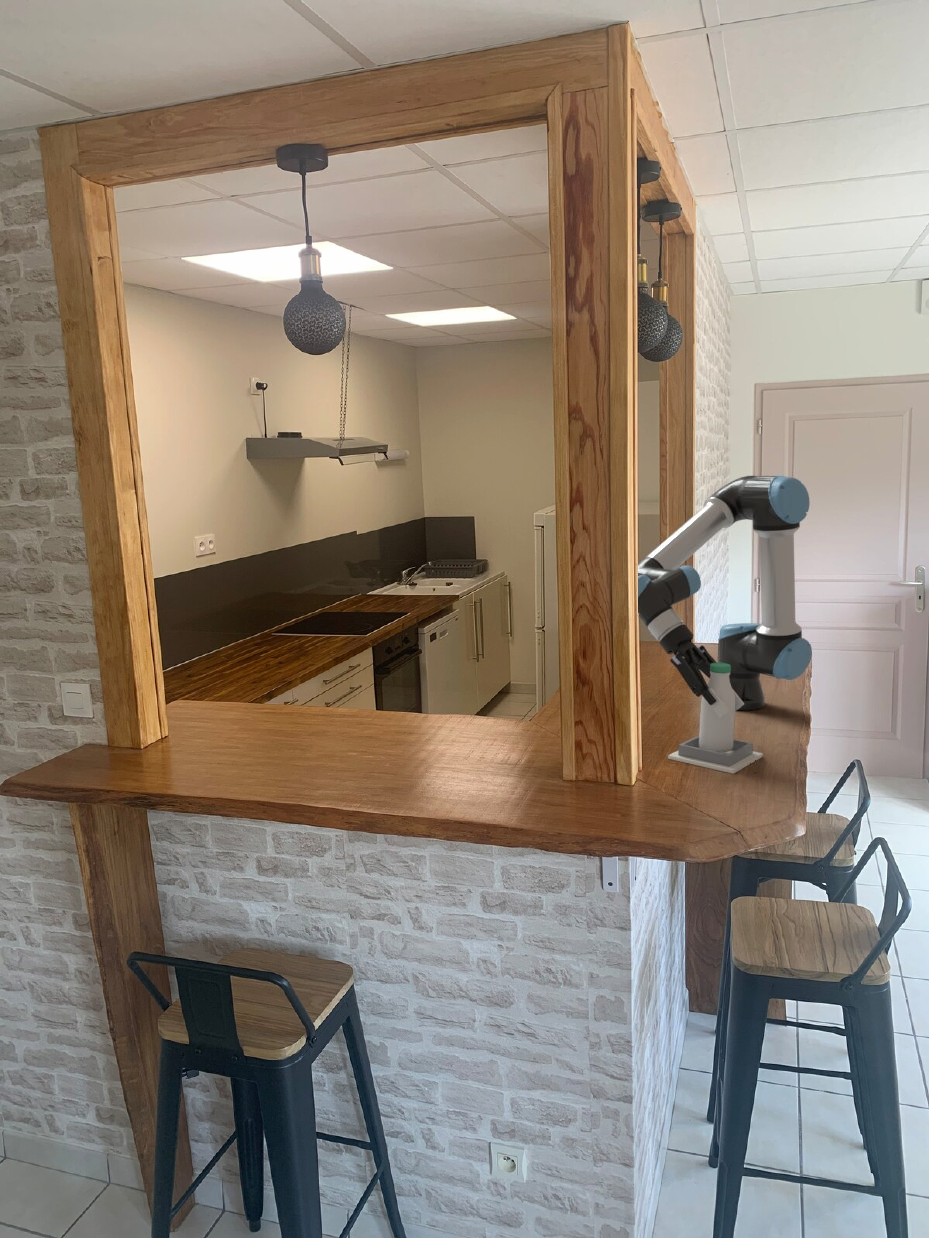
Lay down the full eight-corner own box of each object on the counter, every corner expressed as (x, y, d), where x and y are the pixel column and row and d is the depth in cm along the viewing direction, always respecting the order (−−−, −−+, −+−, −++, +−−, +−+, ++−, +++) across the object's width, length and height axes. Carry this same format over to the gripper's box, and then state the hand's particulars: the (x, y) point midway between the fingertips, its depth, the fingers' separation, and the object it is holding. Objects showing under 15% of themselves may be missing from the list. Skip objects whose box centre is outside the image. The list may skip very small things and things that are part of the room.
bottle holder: (699, 743, 228) (699, 730, 227) (762, 756, 217) (763, 743, 217) (667, 758, 215) (668, 744, 215) (733, 773, 205) (734, 759, 205)
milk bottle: (734, 754, 212) (739, 668, 208) (699, 752, 213) (703, 667, 210) (731, 744, 219) (736, 661, 216) (697, 742, 221) (702, 659, 217)
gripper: (680, 636, 230) (739, 711, 222) (639, 648, 214) (700, 729, 207) (701, 617, 225) (762, 693, 218) (661, 628, 210) (724, 710, 203)
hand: (732, 710), depth 212 cm, fingers closed on milk bottle, 7 cm apart
